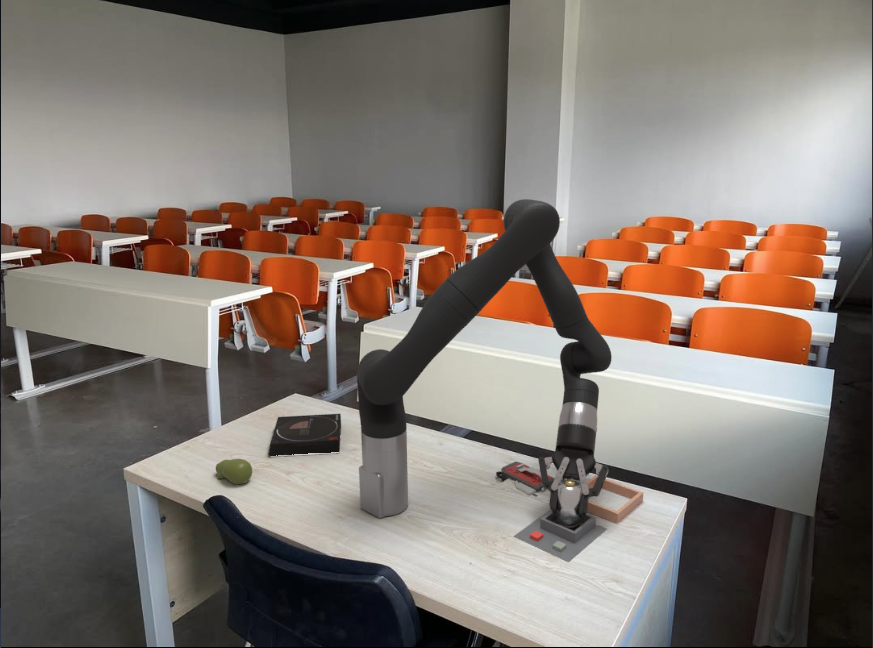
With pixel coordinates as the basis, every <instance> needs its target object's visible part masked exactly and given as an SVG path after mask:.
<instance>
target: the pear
mask: <svg viewBox="0 0 873 648" xmlns="http://www.w3.org/2000/svg"><path fill="white" fill-rule="evenodd" d="M215 471H216V475H217V479H219V478H221V479H227V481H229V482H231V483H233V484H236V485H242V484H245V483H247V482H248V481H249V480H250V479H251V478H252V476H253V467H252V464H251V463H250V462H249V461H248V460H246V459H243V458H233V459H223V460H221V461H220V462H218V463H217V464H216V466H215Z"/></svg>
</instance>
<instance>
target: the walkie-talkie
mask: <svg viewBox="0 0 873 648" xmlns="http://www.w3.org/2000/svg"><path fill="white" fill-rule="evenodd" d="M495 476H496V477H497V478H499V479H500V480H501V482H503V483H504V482H505V481H507V480H508V479H510V480H511V481H513V482H512V484H514V485H515V488H516V489H517V490H519V491H520V492H522V493H525V494H526V495H527V496H534V497H536V498H537V497H539V495H538V494H536V493H540V492H542V493H544V492H545V491H546V489H544V487H543V484H542V478H541V472H540V469H539V468H536V467H535V466H529V465H527V464H525V463H523V462H520V461H513V462H511V463H509V464H506V465H504V466H502V467H501V469H500V471H496V472H495ZM554 479H555V477H552V476H550V475H548V480H549V482H550V483H552V484H553V482H554Z"/></svg>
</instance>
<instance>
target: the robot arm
mask: <svg viewBox="0 0 873 648" xmlns="http://www.w3.org/2000/svg"><path fill="white" fill-rule="evenodd" d="M560 225H561V221H560V213H558V210H557V209H556V208H555V207H554V206H553V205H552V204H550V203H548V202H546V201H542V200H536V199H526V198H525V199H523V198H522V199H518V200H515V201H514V202H512V203H511V204H510V205H509V206H508V207H507V208H506V210H505V212H504V215H503V228H504V232H503V233H502V234H501V235H500V236H499V237H498V239H496V241H495V242H494V243H493V244H492V245H491V246H490V247H489V248H487V249H486V250H485V251H484V252H482V253H481V254H479V255H477V256H476V257H474V258H472V259H471V260H469V261H467V262H466V263H464V264H463V265H462V266H460V267H458V269H456V270H455V271H453V272H452V273H451V274H450V275H449V276H448V277H447V278H446V279H445V280H444V281H443V282H442V283H441V284H440V285H439V286H438V287H437V288H436V289H435V290H434V291H433V293H432V294H430V296H429V297H428V299H427V300H426V301H425V303H424V305H423V306H422V308H421V310H420V311H419V313H418V314H417V317H416V319H415V320H414V322H413V324H412V326H411V328H409V330H408V332H407V334H405V336H404V337H403V338H402V339H401V340H400V341H399V342H398V343H397V344H396V345H394V347H393V348H392V349H390V351H389V350H387V349H374V350H371V351H369V352H367V353H366V354H365V355H364V356H363V357H362V358H361V359H360V361H359V363H358V365H357V371H356V379H357V380H356V382H357V383H356V384H357V400H358V412H359V413H358V415H359V419H360V431H361V432H360V436H361V437H360V438H361V461H362V463H361V464H362V465H360V466H359V467H358V481H359V482H358V483H359V502H360V509H361V510H364V511H365V512H367V513H369V514H371V515H373V516H375V517H376V518H379V519H382V518H384V517H389V516H391V517H392V516H394V515H395V516H396V515H399V514H401V513H403V512H404V511H405V510H406V509H407V507H408V506H409V481H408V477H409V476H408V473H409V472H408V443H407V442H408V437H407V434H408V431H407V425H408V424H407V414H406V410H405V405H404V403H405V402H404V395H406V393H407V392H408V391H409V389H410V388H411V387H412V385H413V384H414V383H415V382H416V380H417V379H418V378H419V377H420V375H421V374H422V373H423V372H424V371H425V369H427V367H428V365H429V364H430V363H431V362H432V361H433V360H434V358H435V357H436V356H438V355H439V353H441V352H442V351H443V349H445V347H447V346H448V345H449V344H450V342H452V341H453V339H455V337H457V335H459V333H461V331H463V329H465V327H466V326H468V325H469V323H471V321H473V319H475V317H477V315H478V314H480V312H481V311H482V310H483V309H484V308H486V306H487V305H488V303H490V301H491V300H492V299H493V298H494V297H495V296H496V295H497V294H498V293H499V292H500V291H501V290H502V289H503V288H504V286H506V285H507V283H508V282H509V281H510V280H511V279H512V278H513V277H514V276H515V274H517V273H518V271H520V270H521V269H522V268H523V267H524V266H526V267H527V269H528V271H529V273H530V275H531V277H532V279H533V281H534V282H535V285H536V287H537V289H538V291H539V294H540V295H541V298H542V300H543V302H544V305H545V308H546V310H547V312H548V315H549V317H550V320H551V321H552V324H553V327H554V329H555V330H556V333H557V334H558V336H559V337H561V338H563V339H568V340H569V339H570V340H575V341H570V342H568V343H566V344H565V345H564V346H563V347H562V349H561V351H560V354H559V361H560V366H561V371H562V372H561V373H562V380H563V387H564V390H563V397H562V404H561V409H560V410H561V411H560V414H559V419H558V425H557V427H558V428H557V434H556V435H557V436H556V442H555V450H554V452H553V454H552V455H551V456H549V457H544V456H542V455H540V456H539V457H538V465H539V471H540V472H541V478H542V484H543V487H544V489H545V490H547V491H549V492H550V495H549V504H548V505H549V510H550V509H551V510H552V512H553V513H557V499H558V483H559V482H560V481H561V480H566V479H572V480H575V481H578V482H579V483H580V484H581V485H582V495H581V498H580V508H579V517H583V514H584V515H586V514H588V512H587V509H588V501H590V500H589V499H590V498H592V497H599V495H600V493H601V491H602V489H603V488H602V486H603V484H604V482H605V479H607V476H608V474H609V466H608V464H600V463H599V462H596V459H595V451H596V450H595V448H596V440H597V432H598V406H599V396H600V395H599V393H600V387H599V386H598V384H597V382H595V381H593V380H592V379H588V378H583V377H581V375H584V374H592V373H602V372H604V371H606V370H608V369H609V367H610V366H611V364H612V363H611V362H612V352H611V348H610V346H609V344H608V342H607V341H606V340H605V338H604V337H603V336H602V335H601V332H599V331H598V329H597V328H596V327H595V326H594V324H593V323H592V322H591V320H590V319H589V317H588V314H587V312H586V310H585V308H584V304H583V302H582V301H581V297H580V295H579V294H578V291H577V289H576V288H575V286H574V284H573V283H572V280H571V279H570V278H569V276H568V275H567V273H566V272H565V270H564V268H562V266H561V264H560V262H559V261H558V259H557V256H556V255H555V252H554V251H553V250H554V249H553V248H552V245H551V243H552V242H553V241H554V239H555V238H556V236H557V235H558V232H559V229H560ZM552 464H553V465H554V467H555V469H556V471H557V472H556V474H555V477H554V478H555V479H554V482H553V484H552V483H550V482H549V480H548V476H549V475H548V471H547V470H549V469H550V468H551V465H552ZM594 469H595V470H596V472H595V475H596V476H598V477H597V480H596V482H595V484H594V487H593V488H590V489H588V485H587V481H588V480H587V479H588V478H587V476H589V474H590V473H591V472H592V471H593V470H594Z"/></svg>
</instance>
